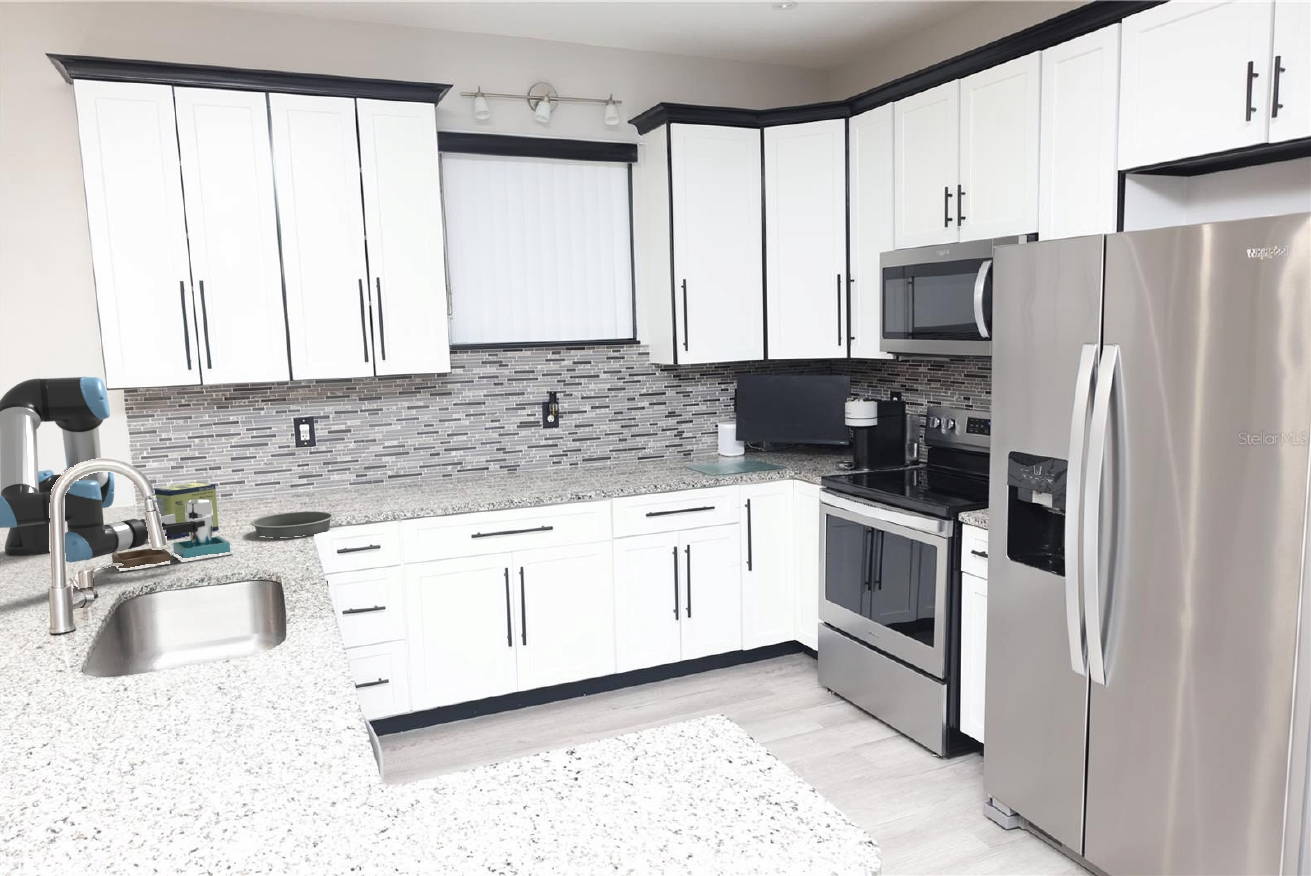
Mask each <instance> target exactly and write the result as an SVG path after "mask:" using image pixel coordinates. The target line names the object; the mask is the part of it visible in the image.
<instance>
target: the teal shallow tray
mask: <svg viewBox="0 0 1311 876" xmlns="http://www.w3.org/2000/svg"><path fill="white" fill-rule="evenodd" d="M172 547H173V553H175V554H178V555H179V556H181V557H182V558H190V557H196V556H201V555H208V554H219V553H225V552H230V551H231V545H230V542H229V541H228V540H226V539H225V538H222V537H221V536H220V535H219V536H218V535H217V536H212V545H205V546H198V547H192V548H191V540H190V539H189V540H184V541H183V540H182V541H177V542H176V541H175V542H172Z"/></svg>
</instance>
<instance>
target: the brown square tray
mask: <svg viewBox="0 0 1311 876" xmlns="http://www.w3.org/2000/svg"><path fill="white" fill-rule="evenodd" d="M151 548H152V547H150V548H143V549H136V550H129V551H120V552H117V554H116V555H113V554H112V553H111V559H112V560H111V561H112V564H113V563H122V564H124V565H123V566H119V567H118V568H130V567H135V566H140V565H145V564H157V563H161V562H165V561H169V560H171V561H172V558H171V557H172V555H171V552H170V551H167V550H166V549H165V548H164V549H162V550H152V549H151Z"/></svg>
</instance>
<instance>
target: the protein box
mask: <svg viewBox="0 0 1311 876" xmlns="http://www.w3.org/2000/svg"><path fill="white" fill-rule="evenodd" d="M216 487H217V486H216V483H207V482H200V481H195V482H190V483H189V482H188V483H181V484H175V485H171V486H170V485H169V486H162V487H155V488H153V489H154V490H155V494H156V498H157V505H158V508H159V511H160V514H161V517H162V516H166V515H171V514H175V520H176V523H181V522H186V518H185V502H187V501H191V500H198V499H210V500H211V503H212V509H213V528H212V531H213V532H217V530H218V531H219V529H220V528H219V517H218V515H219V513H218V503H217V502H218V501H217V489H216ZM185 536H188V537H190V535H189V533H182V534H176V535H169V536H167V538H166V539H169V538H170V539H169V540H176V539H177V538H178V539H181V537H183V538H186V537H185Z"/></svg>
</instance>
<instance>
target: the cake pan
mask: <svg viewBox="0 0 1311 876" xmlns="http://www.w3.org/2000/svg"><path fill="white" fill-rule="evenodd" d="M333 518H334V514H333V513H332V512H326V511H316V510H315V511H313V510H312V511H311V510H310V511H290V512H282V513H275V514H270V515H266V516H265V515H264V516H261V517H258V518H256V519H253V520H252V521H250V525H251V526H253V527H254V528H255V531H256V534H257V536H258V537H259V536H265V537H273V538H272V539H274V538H278V539H281V538H280V537H294V536H303V535H309V536H312V535H313V536H314V535H318V534H321V533H324V532H326V531H328V530H329V529H330V524H331V520H332V519H333ZM303 537H304V536H303ZM294 538H295V537H294Z"/></svg>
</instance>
